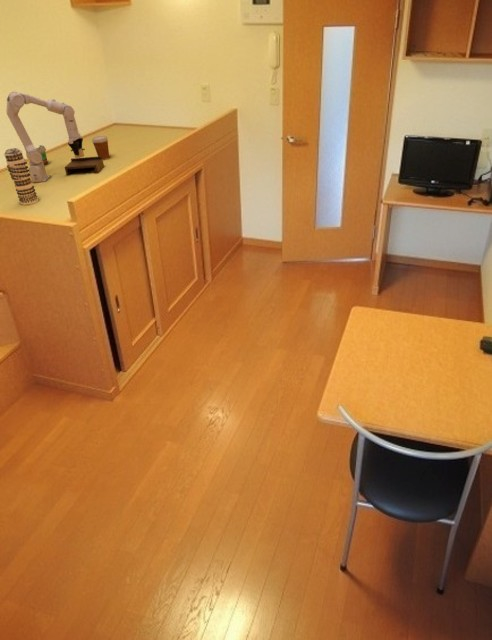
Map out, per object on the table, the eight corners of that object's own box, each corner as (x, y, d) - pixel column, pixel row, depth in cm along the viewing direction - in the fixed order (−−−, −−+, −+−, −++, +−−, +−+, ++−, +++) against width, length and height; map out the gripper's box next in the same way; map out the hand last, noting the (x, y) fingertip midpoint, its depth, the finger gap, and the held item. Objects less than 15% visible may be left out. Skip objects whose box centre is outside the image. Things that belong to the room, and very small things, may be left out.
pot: (84, 157, 272) (82, 147, 269) (71, 158, 273) (68, 148, 270) (87, 154, 277) (85, 144, 274) (74, 155, 277) (71, 145, 274)
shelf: (97, 173, 270) (95, 162, 267) (66, 175, 272) (63, 165, 268) (104, 166, 281) (101, 156, 278) (74, 168, 282) (71, 158, 279)
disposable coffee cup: (93, 159, 295) (87, 139, 288) (103, 155, 302) (98, 135, 295) (104, 160, 291) (100, 140, 284) (115, 156, 298) (110, 136, 291)
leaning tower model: (41, 197, 243) (25, 146, 229) (35, 203, 235) (18, 151, 221) (23, 199, 243) (5, 147, 229) (17, 205, 235) (-2, 153, 221)
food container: (43, 167, 289) (37, 150, 283) (34, 167, 290) (28, 150, 285) (53, 161, 299) (48, 144, 293) (45, 161, 300) (39, 145, 295)
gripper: (75, 131, 260) (81, 156, 267) (83, 124, 272) (89, 149, 280) (62, 132, 260) (69, 157, 268) (70, 125, 272) (77, 150, 280)
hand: (78, 153), depth 274 cm, fingers closed on pot, 5 cm apart
